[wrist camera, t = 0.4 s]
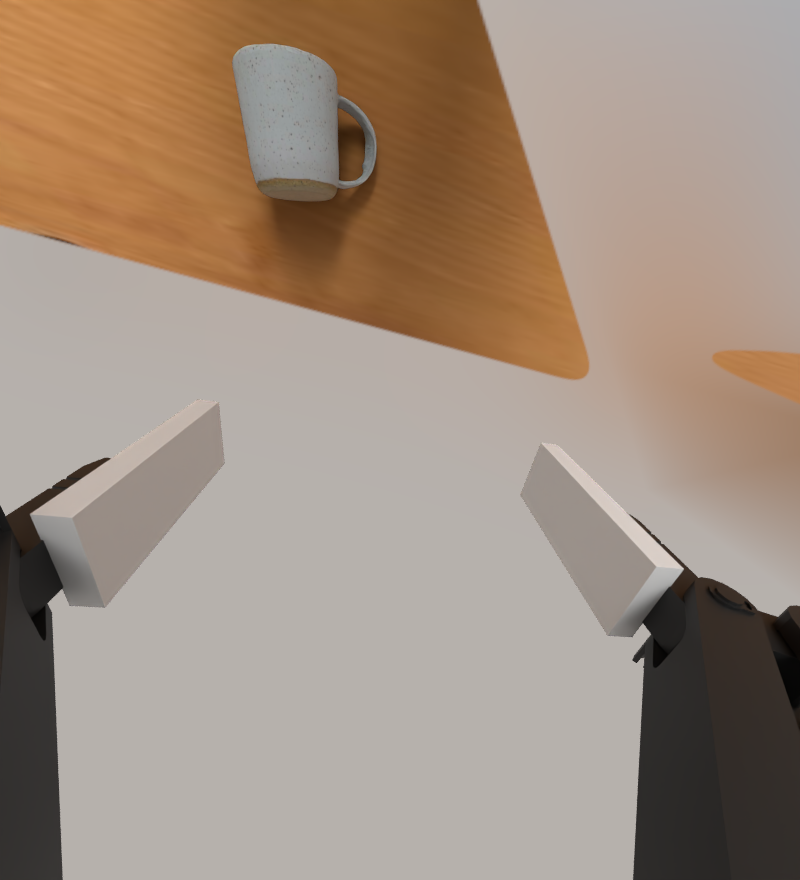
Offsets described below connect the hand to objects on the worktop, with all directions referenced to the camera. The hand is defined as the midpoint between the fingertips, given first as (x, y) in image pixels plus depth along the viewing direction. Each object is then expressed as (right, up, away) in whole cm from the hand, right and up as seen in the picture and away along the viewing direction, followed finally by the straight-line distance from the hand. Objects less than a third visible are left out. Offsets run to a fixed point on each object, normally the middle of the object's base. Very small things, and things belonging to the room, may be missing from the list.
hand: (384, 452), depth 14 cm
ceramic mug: (-7, +28, +17) cm, 33 cm away
